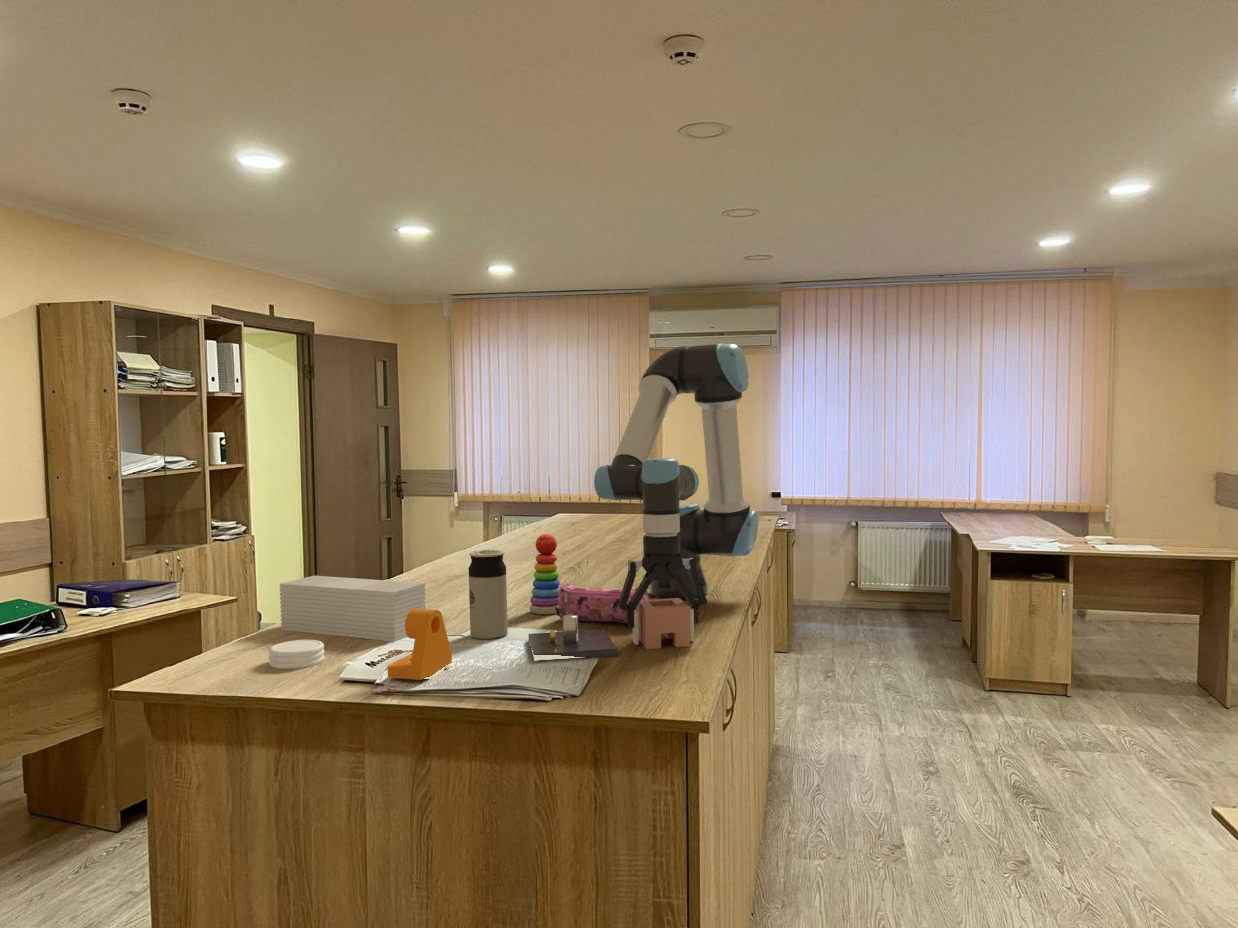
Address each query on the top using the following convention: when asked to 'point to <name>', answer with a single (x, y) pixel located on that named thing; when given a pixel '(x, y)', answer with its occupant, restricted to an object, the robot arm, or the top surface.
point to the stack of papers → (349, 606)
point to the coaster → (296, 654)
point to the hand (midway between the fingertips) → (663, 641)
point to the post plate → (574, 649)
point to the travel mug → (488, 594)
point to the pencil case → (593, 603)
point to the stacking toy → (545, 577)
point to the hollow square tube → (663, 622)
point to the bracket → (423, 646)
